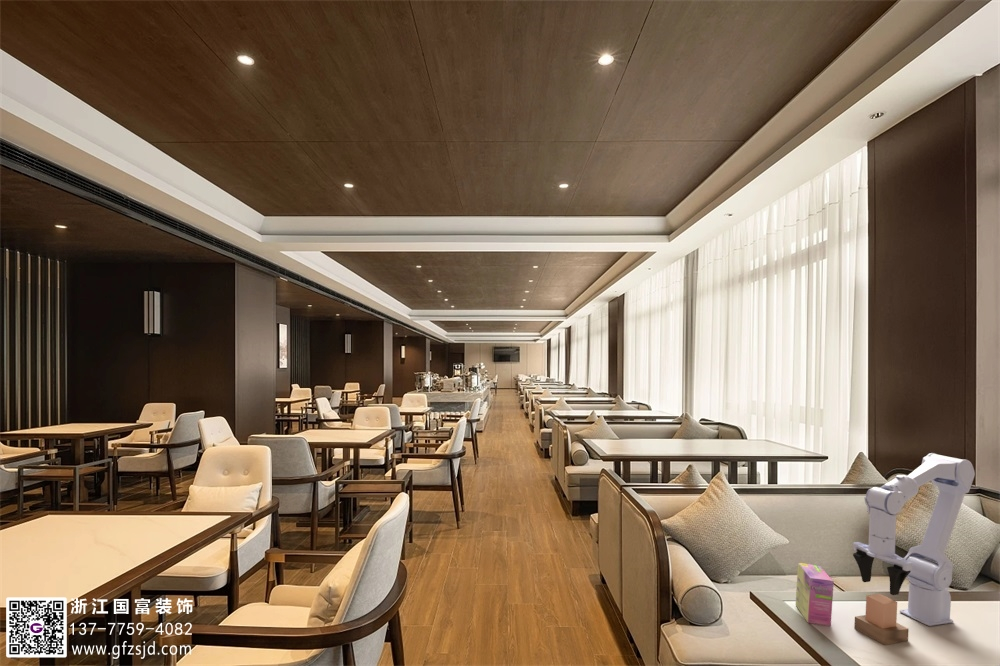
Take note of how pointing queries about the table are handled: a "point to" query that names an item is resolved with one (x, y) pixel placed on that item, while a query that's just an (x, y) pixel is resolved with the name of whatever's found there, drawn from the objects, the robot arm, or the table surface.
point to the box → (814, 594)
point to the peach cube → (881, 610)
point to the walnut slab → (881, 631)
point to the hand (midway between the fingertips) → (880, 587)
